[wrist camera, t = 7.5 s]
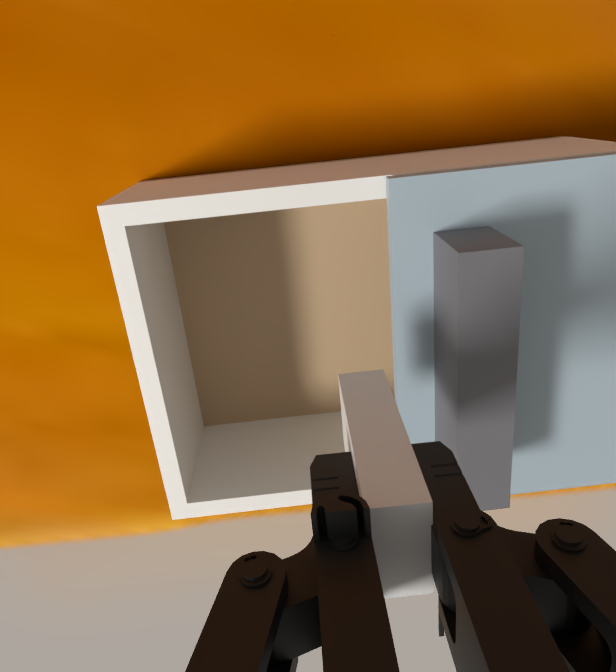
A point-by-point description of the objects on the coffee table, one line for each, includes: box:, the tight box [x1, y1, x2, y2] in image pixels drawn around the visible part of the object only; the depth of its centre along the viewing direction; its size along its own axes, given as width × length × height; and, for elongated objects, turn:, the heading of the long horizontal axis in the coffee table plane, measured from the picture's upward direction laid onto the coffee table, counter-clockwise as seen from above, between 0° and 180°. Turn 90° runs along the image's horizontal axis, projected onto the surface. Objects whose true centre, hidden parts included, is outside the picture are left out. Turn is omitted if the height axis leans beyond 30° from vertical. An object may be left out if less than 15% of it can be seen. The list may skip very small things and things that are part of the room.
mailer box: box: [97, 136, 616, 520], centre depth 26 cm, size 20×14×7 cm
